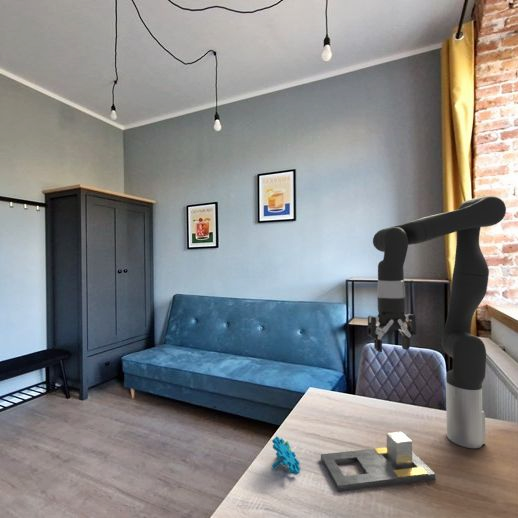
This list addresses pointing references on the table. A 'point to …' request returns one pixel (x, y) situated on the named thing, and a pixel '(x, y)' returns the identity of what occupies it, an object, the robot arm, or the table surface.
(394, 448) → the steel block
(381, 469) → the fixture plate
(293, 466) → the gear
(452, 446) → the table surface
